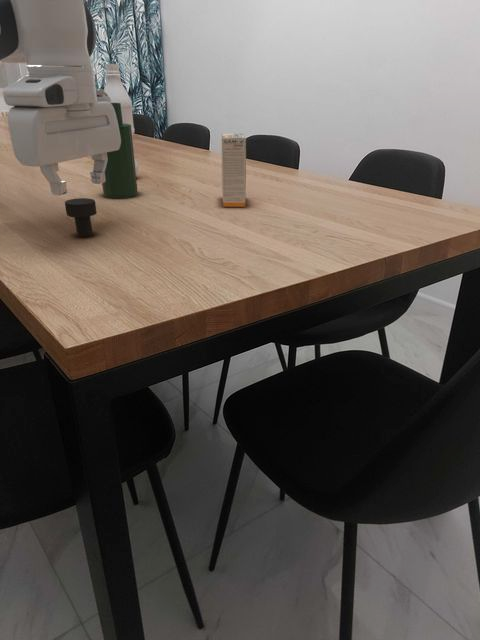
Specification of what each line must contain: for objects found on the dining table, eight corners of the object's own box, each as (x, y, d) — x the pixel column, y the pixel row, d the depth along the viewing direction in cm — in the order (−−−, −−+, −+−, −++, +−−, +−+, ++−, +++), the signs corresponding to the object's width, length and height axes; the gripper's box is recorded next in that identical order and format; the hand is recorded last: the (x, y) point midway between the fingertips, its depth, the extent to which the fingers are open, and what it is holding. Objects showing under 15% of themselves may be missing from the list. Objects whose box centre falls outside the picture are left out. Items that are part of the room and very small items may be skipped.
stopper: (76, 241, 80) (70, 206, 77) (66, 234, 83) (60, 200, 80) (104, 236, 82) (99, 202, 80) (93, 229, 85) (88, 196, 83)
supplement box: (246, 207, 101) (246, 137, 95) (222, 207, 101) (221, 137, 95) (244, 198, 109) (244, 132, 102) (222, 198, 108) (221, 132, 102)
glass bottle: (112, 200, 105) (100, 104, 96) (98, 193, 110) (85, 102, 101) (143, 195, 109) (134, 103, 100) (128, 190, 114) (119, 101, 105)
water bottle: (139, 175, 130) (128, 64, 117) (138, 180, 123) (127, 64, 111) (111, 176, 128) (97, 63, 116) (108, 181, 122) (93, 63, 110)
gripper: (91, 87, 82) (104, 175, 89) (-9, 91, 65) (16, 199, 72) (124, 88, 80) (134, 178, 87) (30, 92, 63) (51, 203, 70)
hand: (80, 188), depth 79 cm, fingers open, 8 cm apart
